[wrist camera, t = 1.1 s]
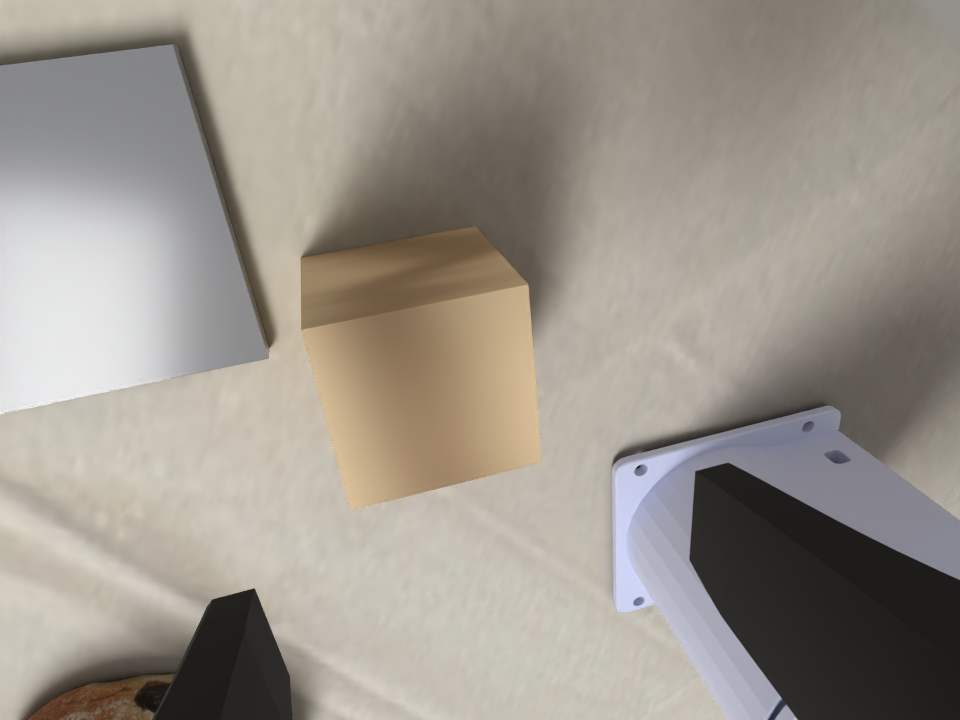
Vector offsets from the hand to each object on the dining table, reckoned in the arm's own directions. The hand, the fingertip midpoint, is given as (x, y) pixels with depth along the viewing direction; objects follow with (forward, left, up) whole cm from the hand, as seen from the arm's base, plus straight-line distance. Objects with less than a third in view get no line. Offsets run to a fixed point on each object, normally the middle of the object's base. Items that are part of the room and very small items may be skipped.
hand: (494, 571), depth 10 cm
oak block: (0, 0, -10) cm, 10 cm away
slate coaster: (+8, -4, -10) cm, 14 cm away
